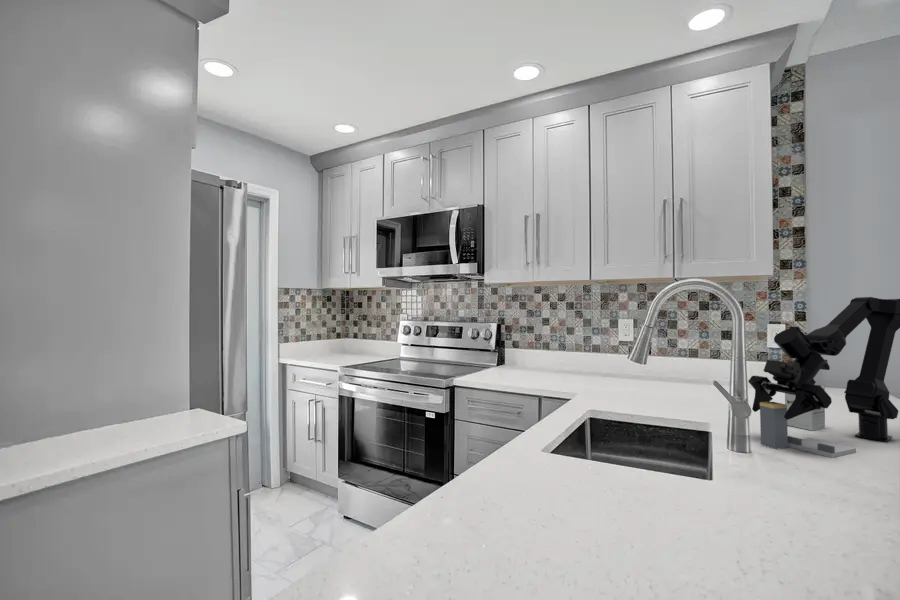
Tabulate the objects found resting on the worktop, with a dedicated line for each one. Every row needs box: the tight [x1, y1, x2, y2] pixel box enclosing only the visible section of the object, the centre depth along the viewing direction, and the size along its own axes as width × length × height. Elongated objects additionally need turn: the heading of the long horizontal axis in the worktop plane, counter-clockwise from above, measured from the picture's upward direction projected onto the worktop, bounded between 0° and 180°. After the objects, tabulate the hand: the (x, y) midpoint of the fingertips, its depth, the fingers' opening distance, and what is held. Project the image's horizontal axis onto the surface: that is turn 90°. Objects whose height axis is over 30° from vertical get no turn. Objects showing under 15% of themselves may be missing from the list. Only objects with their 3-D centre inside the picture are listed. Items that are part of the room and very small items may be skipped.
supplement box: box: [784, 385, 826, 432], centre depth 133 cm, size 7×7×13 cm
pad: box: [788, 435, 857, 459], centre depth 111 cm, size 10×10×2 cm
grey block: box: [759, 401, 789, 449], centre depth 114 cm, size 4×4×11 cm
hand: (769, 414), depth 114 cm, fingers open, 9 cm apart
